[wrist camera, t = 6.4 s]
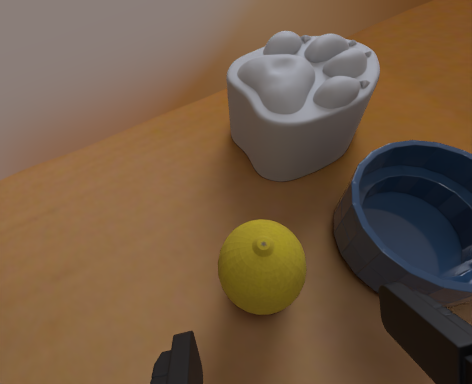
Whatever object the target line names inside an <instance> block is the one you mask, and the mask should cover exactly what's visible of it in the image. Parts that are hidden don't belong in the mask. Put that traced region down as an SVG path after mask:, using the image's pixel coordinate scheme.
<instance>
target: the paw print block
mask: <svg viewBox="0 0 472 384" xmlns="http://www.w3.org/2000/svg"><path fill="white" fill-rule="evenodd" d="M379 75H380V66H379V62H378V59H377V56H376V54H375V53H374V52H373V51H372V50H371V49H370V48H368V47H367V46H365V45H363V44H360V43H358V42H356V41H355V40H348V39H344V38H342V37H341V36H339V35H336V34H325V35H322V36H307V35H304V36H302V37H299V36H298V35H297V34H295V33H293V32H290V31H282V32H279V33H277V34H275V35H274V36H272V37H271V38H270V39H269V41H268V42H267V44H266V46H265V47H263V48H260V49H258V50H256V51H254V52H251V53H248V54H246V55H244V56H242V57H240V58H239V59H237V60H235V61H234V62H233V63H232V65H231V66H230V68H229V70H228V73H227V88H228V104H229V115H230V127H231V137H232V139H233V141H234V142H235V143H236V144H237V145H238V146H239V147H240V148H241V149H242V150H243V151H244V152H245V153H246V154H247V156H248V157H249V159H250V161H251V163H252V165H253V167H254V169H255V170H256V172H257V173H258V174H259V175H261V176H262V177H264V178H266V179H269V180H273V181H290V180H294V179H297V178H300V177H303V176H305V175H308V174H310V173H313V172H315V171H317V170H319V169H321V168H323V167H325V166H327V165H329V164H331V163H332V162H334V161H336V160H337V159H339V158H340V157H341V156H342V155H343V154H344V153H345V152H346V150H347V149H348V147H349V145H350V143H351V141H352V138H353V136H354V134H355V132H356V129H357V127H358V125H359V123H360V120H361V118H362V116H363V114H364V111H365V109H366V107H367V105H368V102H369V100H370V98H371V96H372V93H373V91H374V89H375V87H376V84H377V82H378V79H379Z"/></svg>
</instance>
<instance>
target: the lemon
mask: <svg viewBox="0 0 472 384" xmlns="http://www.w3.org/2000/svg"><path fill="white" fill-rule="evenodd" d="M218 275H219V279H220V282H221V285H222V288H223V290H224V291H225V293H226V295H227V296H228V298H229V299H230V300H231V301H232V302H233V303H234V304H235V305H236V306H237V307H239V308H241V309H243V310H245V311H246V312H249V313H253V314H257V315H267V314H273V313H276V312H279V311H281V310H283V309H284V308H286V307H287V306H289V305H290V304H291V303H292V302H293V301H294V300H295V299H296V298H297V296H298V295H299V293H300V291H301V289H302V287H303V285H304V282H305V276H306V260H305V254H304V252H303V249H302V246H301V244H300V242H299V241H298V239H297V238H296V236H295V235H294V234H293V233H292V232H291V231H290V230H289V229H288V228H287V227H285V226H283V225H281V224H280V223H277V222H274V221H271V220H262V219H259V220H252V221H249V222H246V223H244V224H241V225H240V226H239V227H237V228H236V229H234V230H233V231H232V232H231V234H230V235H229V236H228V237H227V238H226V240H225V242H224V244H223V246H222V248H221V250H220V255H219V260H218Z"/></svg>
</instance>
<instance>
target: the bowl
mask: <svg viewBox="0 0 472 384" xmlns="http://www.w3.org/2000/svg"><path fill="white" fill-rule="evenodd" d="M334 236H335V239H336V242H337V245H338V248H339V250H340V253H341V255H342V256H343V258H344V259H345V261H346V262H347V263H348V265H349V266H350V268H351V269H352V270H353V272H354V273H355V274H356V276H358V277H359V278H360V279H361V280H362V281H364V282H365V283H366V284H367V285H368V286H370V287H371V288H372V289H373V290H374V291H376V292H377V293H379V287H380V286H381V285H385V284H389V283H393V282H397V281H398V282H401V283H402V284H404V285H405V286H406V287H408V288H409V289H410V290H412V291H418V292H421V293H423V294H426V295H428V296H430V297H432V298H433V299H435V300H436V301H438V302H439V303H440V304H442V306H443V307H444V306H445V307H450V306H455V305H459V304H462V303H465V302H468V301H472V154H470V153H468V152H466V151H464V150H461V149H458V148H455V147H451V146H448V145H445V144H441V143H437V142H427V141H417V140H410V141H402V142H395V143H390V144H387V145H385V146H383V147H381V148H378V149H376V150H374V151H372V152H371V153H370V154H369V155H368V156H367V157H366V158H365V159H364V160H363V161H361V162H360V163H359V165H358V166H357V168H356V170H355V172H354V174H353V176H352V178H351V179H350V181H349V183H348V185H347V187H346V189H345V191H344V193H343V195H342V197H341V198H340V201H339V203H338V206H337V208H336V210H335V213H334Z"/></svg>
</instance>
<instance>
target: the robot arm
mask: <svg viewBox="0 0 472 384" xmlns="http://www.w3.org/2000/svg"><path fill="white" fill-rule="evenodd" d="M379 298H380V310H381V319H382V322H383V325H384V327H385V329H386V330H387V332H388V333H389V334H390V335H391V336H392V337H393V338H394V339H395V340H396V342H397V343H398V344H399V345H400V346H401V347H402V348H403V349H404V350H405V351H406V352H407V353H408V354H409V355H410V357H411V358H412V359H413V360H414V361H415V362H416V363H417V364H418V365H419V366H420V367H421V368H422V369H423V370H424V372H425V373H426V374H427V375H428V376H429V377H430V378H431V379H432V380H433V381H434V382H435V383H436V384H472V326H471V325H470V324H468V323H467V322H466V321H464V320H463V319H461V318H460V317H459V316H457V315H456V314H453V313H452V311H450V310H449V309H447V308H446V307H445V306H444V307H443V306H442V304H440V303H439V302H438V301H436V300H435V299H433V298H432V297H430V296H428V295H426V294H423V293H421V292H418V291H412V290H410V289H409V288H408V287H406V286H405V285H404V284H402V283H401V282H398V281H397V282H393V283H389V284H385V285H381V286H380V287H379ZM150 384H203V372H202V365H201V360H200V356H199V352H198V348H197V345H196V341H195V337H194V333H193V331H188V332H184V333H180V334H176V335H174V336H173V342H172V348H171V350H169V351H165V352H162V353H161V355H160V356H159V358H158V359H157V361H156V363H155V364H154V368H153V373H152V380H151V382H150Z"/></svg>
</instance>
